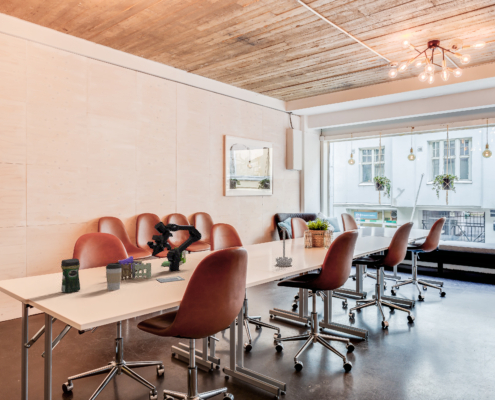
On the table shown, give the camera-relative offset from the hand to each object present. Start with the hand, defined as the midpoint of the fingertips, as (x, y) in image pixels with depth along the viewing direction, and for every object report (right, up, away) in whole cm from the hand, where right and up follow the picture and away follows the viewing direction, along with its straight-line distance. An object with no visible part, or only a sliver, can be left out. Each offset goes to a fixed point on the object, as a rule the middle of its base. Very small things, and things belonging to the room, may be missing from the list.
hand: (153, 255), depth 263 cm
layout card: (+14, -14, -12) cm, 23 cm away
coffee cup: (-14, -14, -37) cm, 42 cm away
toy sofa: (-19, -14, +11) cm, 26 cm away
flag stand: (+93, -13, +40) cm, 103 cm away
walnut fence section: (-17, -14, -12) cm, 25 cm away
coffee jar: (-37, -14, -43) cm, 58 cm away
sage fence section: (-6, -13, -9) cm, 17 cm away
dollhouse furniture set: (+7, -13, +46) cm, 48 cm away
